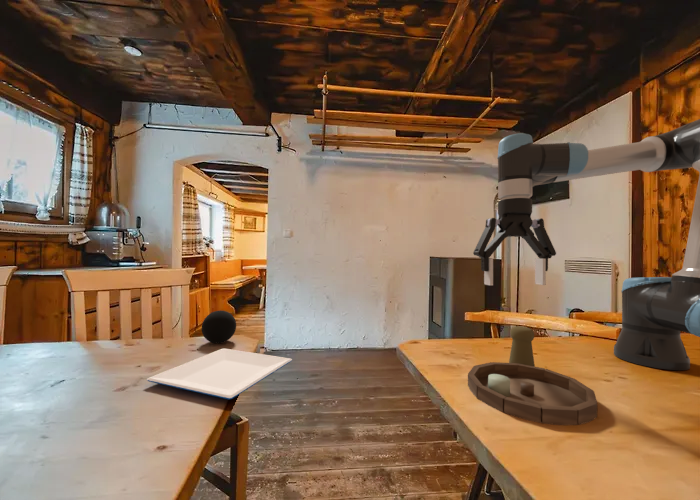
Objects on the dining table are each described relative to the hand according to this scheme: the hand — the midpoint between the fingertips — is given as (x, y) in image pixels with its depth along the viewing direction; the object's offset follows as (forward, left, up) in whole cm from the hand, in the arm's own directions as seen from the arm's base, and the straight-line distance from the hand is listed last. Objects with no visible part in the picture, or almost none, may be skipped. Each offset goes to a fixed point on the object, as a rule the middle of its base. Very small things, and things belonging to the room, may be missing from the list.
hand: (514, 284), depth 76 cm
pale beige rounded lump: (+9, +15, -21) cm, 27 cm away
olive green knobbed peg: (-2, 0, -22) cm, 22 cm away
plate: (+69, +10, -22) cm, 73 cm away
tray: (+4, +15, -22) cm, 26 cm away
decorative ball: (+83, -14, -22) cm, 87 cm away
